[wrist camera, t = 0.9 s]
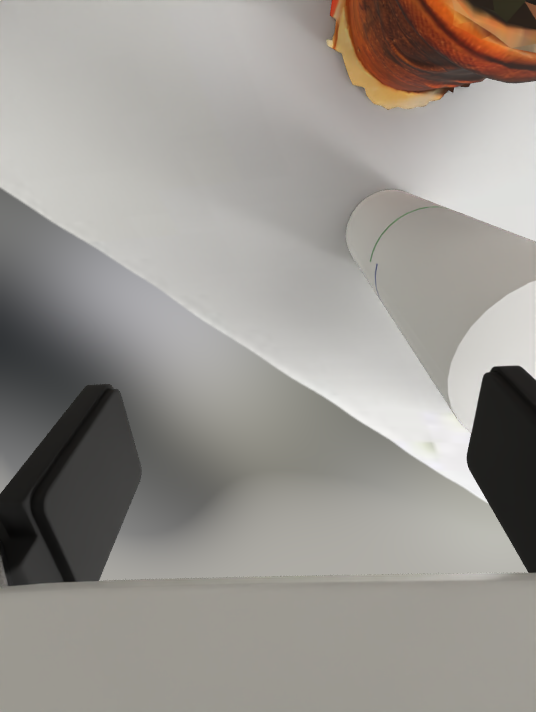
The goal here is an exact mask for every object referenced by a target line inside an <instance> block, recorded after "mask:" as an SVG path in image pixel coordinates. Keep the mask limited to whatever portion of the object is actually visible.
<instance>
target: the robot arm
mask: <svg viewBox="0 0 536 712" xmlns="http://www.w3.org/2000/svg"><path fill="white" fill-rule="evenodd" d="M467 464H468V467H469V470H470V472H471V473H472V475H473V477H474V479H475V480H476V482H477V484H478V486H479V487H480V489H481V491H482V492H483V494H484V496H485V498H486V499H487V501H488V503H489V505H490V506H491V508H492V510H493V512H494V513H495V515H496V517H497V519H498V520H499V522H500V524H501V526H502V527H503V529H504V531H505V532H506V534H507V536H508V537H509V539H510V541H511V543H512V545H513V546H514V548H515V550H516V552H517V553H518V555H519V557H520V558H521V560H522V562H523V564H524V566H525V567H526V569H527V571H528V573H462V574H461V573H460V574H458V573H457V574H385V575H384V574H382V575H324V576H273V577H226V578H186V579H185V578H184V579H141V580H109V581H99V579H100V577H101V574H102V572H103V569H104V567H105V564H106V562H107V560H108V557H109V554H110V552H111V550H112V547H113V545H114V543H115V540H116V538H117V535H118V533H119V531H120V528H121V525H122V523H123V521H124V518H125V516H126V513H127V511H128V509H129V506H130V504H131V501H132V499H133V497H134V494H135V492H136V489H137V487H138V484H139V482H140V479H141V464H140V461H139V457H138V454H137V450H136V446H135V443H134V440H133V436H132V432H131V429H130V425H129V422H128V418H127V414H126V411H125V407H124V404H123V400H122V397H121V393H120V391H119V390H118V389H114V388H113V387H112V385H110V384H102V385H101V384H100V385H87V386H86V387H85V388H84V389H83V391H82V392H81V393H80V394H79V396H78V397H77V398H76V399H75V400H74V402H73V403H72V404H71V405H70V407H69V408H68V409H67V410H66V412H65V413H64V414H63V415H62V417H61V418H60V419H59V421H58V422H57V423H56V425H55V426H54V427H53V428H52V429H51V431H50V432H49V433H48V434H47V436H46V437H45V438H44V440H43V441H42V442H41V443H40V445H39V446H38V447H37V448H36V450H35V451H34V452H33V453H32V455H31V456H30V457H29V458H28V460H27V461H26V462H25V463H24V465H23V466H22V467H21V469H20V470H19V471H18V472H17V474H16V475H15V476H14V477H13V479H12V480H11V481H10V482H9V484H8V485H7V486H6V487H5V489H4V490H3V491H2V492H1V494H0V712H536V380H535V379H534V378H533V377H532V376H531V375H530V374H529V373H528V372H527V371H526V370H525V369H523V368H522V367H521V366H518V365H514V366H494V367H493V368H492V369H491V370H490V372H487V373H485V374H484V375H483V378H482V383H481V388H480V393H479V398H478V403H477V408H476V413H475V418H474V423H473V428H472V432H471V437H470V442H469V447H468V452H467Z"/></svg>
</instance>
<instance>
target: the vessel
mask: <svg viewBox="0 0 536 712" xmlns="http://www.w3.org/2000/svg"><path fill="white" fill-rule="evenodd" d="M330 16H331V17H333V18H334V19H336V25H335V33H334V35H333V38H332V40H328V39H327V45H328V46H329V47H331V48H333V49H334V50H336V51H338V52H340V53H341V54H342V56H343V60H344V63H345V66H346V69H347V72H348V75H349V78H350V80H351V82H352V84H353V85H356V86H360V87H363V88H365V91H366V95H367V97H368V98H369V99H370V100H371V101H372V102H373V103H374V104H376V105H381V106H383V107H384V108H386V109H387V110H389V109H392V108H396V107H400V108H403V109H412V108H415V107H424V106H426V105H427V104H428V103H429V101H435V100H439V99H441V98H442V97H443V95H444V94H445V93H446V92H447V91H448V90H449V91H451V92H453V91H454V87H458V86H461V87H469V85H470V84H471V83H475V82H481V81H483V80H484V79H485V78H489V79H493V80H497V81H501V82H505V83H523V82H531V81H536V0H332V4H331V11H330Z"/></svg>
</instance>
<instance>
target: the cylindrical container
mask: <svg viewBox="0 0 536 712" xmlns="http://www.w3.org/2000/svg"><path fill="white" fill-rule="evenodd" d="M346 242H347V246H348V249H349V252H350V254H351V255H352V257H353V259H354V260H355V262H356V263H357V265H358V267H359V268H360V270H361V271H362V273H363V274H364V276H365V277H366V279H367V280H368V282H369V284H370V285H371V287H372V288H373V290H374V291H375V293H376V294H377V296H378V297H379V299H380V300H381V302H382V304H383V305H384V307H385V308H386V310H387V311H388V313H389V314H390V316H391V317H392V319H393V321H394V322H395V324H396V325H397V327H398V328H399V330H400V331H401V333H402V335H403V336H404V338H405V339H406V341H407V342H408V344H409V345H410V347H411V348H412V350H413V352H414V353H415V355H416V356H417V358H418V359H419V361H420V362H421V364H422V365H423V367H424V369H425V370H426V372H427V373H428V375H429V376H430V378H431V379H432V381H433V382H434V384H435V385H436V387H437V389H438V390H439V392H440V393H441V395H442V396H443V398H444V399H445V401H446V402H447V404H448V405H449V407H450V409H451V410H452V412H453V413H454V415H455V416H456V418H457V419H458V421H459V422H460V423H461V424H462V425H463V426H464V427H465V428H466V429H467V430H468V431H469V432H470V433H471V432H472V428H473V423H474V418H475V413H476V408H477V403H478V398H479V393H480V388H481V383H482V378H483V375H484V374H485V373H487V372H490V370H491V369H492V368H493V367H494V366H514V365H518V366H521V367H522V368H523V369H525V370H526V371H527V372H528V373H529V374H530V375H531V376H532V377H533V378H534V379H535V380H536V242H535V241H532V240H530V239H527V238H525V237H522V236H519V235H517V234H514V233H511V232H509V231H506V230H504V229H501V228H498V227H496V226H493V225H491V224H488V223H485V222H483V221H480V220H477V219H475V218H472V217H470V216H467V215H464V214H462V213H459V212H456V211H454V210H451V209H448V208H446V207H443V206H441V205H438V204H435V203H433V202H430V201H428V200H425V199H422V198H420V197H417V196H414V195H412V194H409V193H407V192H404V191H400V190H395V189H392V190H383V191H379V192H376V193H374V194H372V195H370V196H368V197H367V198H365V199H364V200H363V201H362V202H361V203H360V204H359V205H358V206H357V207H356V208H355V210H354V211H353V213H352V214H351V217H350V219H349V221H348V225H347V229H346Z"/></svg>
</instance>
